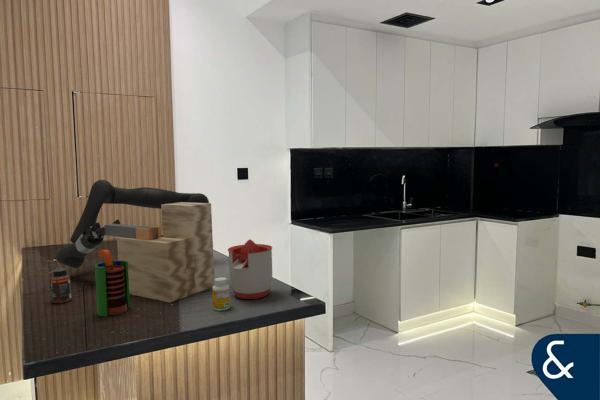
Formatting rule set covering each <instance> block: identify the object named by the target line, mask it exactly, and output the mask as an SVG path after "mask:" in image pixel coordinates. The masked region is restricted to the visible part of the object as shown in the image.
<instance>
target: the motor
mask: <svg viewBox="0 0 600 400" xmlns="http://www.w3.org/2000/svg"><path fill="white" fill-rule="evenodd" d="M98 257H99V258H103V259H104V261H101V262H99V263H96V264H94V275H95V276H94V277H95V278H94V279H95V292H96V294H95V295H96V314H97V315H98V316H99V317H106V318H107V317H108V316H115V315H121V314H123V313H125V312H127V311H128V309H129V308H131V304H130V303H131V301H130V294H129V276H128V261H123V260H118V259H117V260H115V259H114V260H113V257H112V254H111V252H110V250H109V249H101V250H99V251H98Z"/></svg>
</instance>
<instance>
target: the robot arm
mask: <svg viewBox="0 0 600 400" xmlns="http://www.w3.org/2000/svg"><path fill="white" fill-rule="evenodd" d="M179 202H189V203H210V201H209V198H208V197H207V195H205V194H203V193H199V192H197V193H195V192H194V193H189V192H188V193H187V192H186V193H185V192H178V191H173V190H167V189H163V188H156V187H146V186H145V187H143V186H142V187H136V188H135V187H134V188H123V187H117V186H115V185H114V186H113V184H111V182H109V181H108V180H106V179H98V180H96V181H95V182H94V183H93V184H92V186H91V188H90V190H89V194H88V198H87V201H86V204H85V207H84V209H83V211H82V214H81V215H80V216H81V217H80V218H79V220H78V222H77V224H76V227H75V228H74V229H73V233H72V234H71V236H70V240H69V241H70V242H71V244H66V245H65V246H63V247H62V248H61V249H59V250H58V252H57V253H56V257H55V258H56V260H57V262H59V264H62V265H65V266H67V267H71V268H74V269H79V268H80V267H82V265H83V263H84V262H85V258H86V256H87V255H88V254H90V253H91V252H92V251H94V250H95V249H96V248H98V246H100V245H101V244H102V243H103V241H104V238H105V237H106V236H107V235H105V226H102V227H101V224H100V222H97V220H98V216H99V214H100V211H101V209H102V207H103V205H106V204H107V205H113V204H115V205H130V206H133V207H141V208H148V209H149V208H150V209H158V210H161V205H163V204H171V203H179ZM111 224H121V222H120V220H119V219H115V221H113V222H112V223H111Z"/></svg>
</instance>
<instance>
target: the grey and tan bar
mask: <svg viewBox="0 0 600 400" xmlns="http://www.w3.org/2000/svg"><path fill="white" fill-rule="evenodd" d="M104 226H105V235H106V236H108V237H116V238H119V237H126V238H135V239H138V240H152V239H157V238H161V237H162V232H161V231H162V230H161V226H151V225H147V226H146V225H135V224H134V225H133V224H121V223H120V224H112V223H108V224H104ZM104 226H103V227H104Z"/></svg>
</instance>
